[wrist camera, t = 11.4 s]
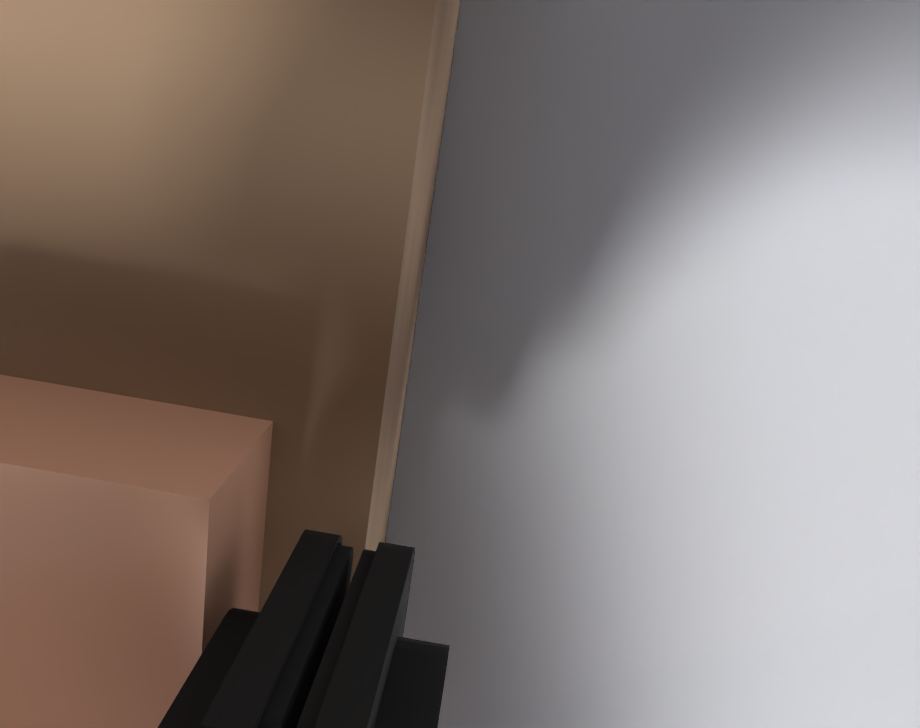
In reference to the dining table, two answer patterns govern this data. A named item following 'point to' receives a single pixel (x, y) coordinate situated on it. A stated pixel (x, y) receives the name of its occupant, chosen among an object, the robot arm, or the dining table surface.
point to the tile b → (119, 549)
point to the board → (229, 223)
